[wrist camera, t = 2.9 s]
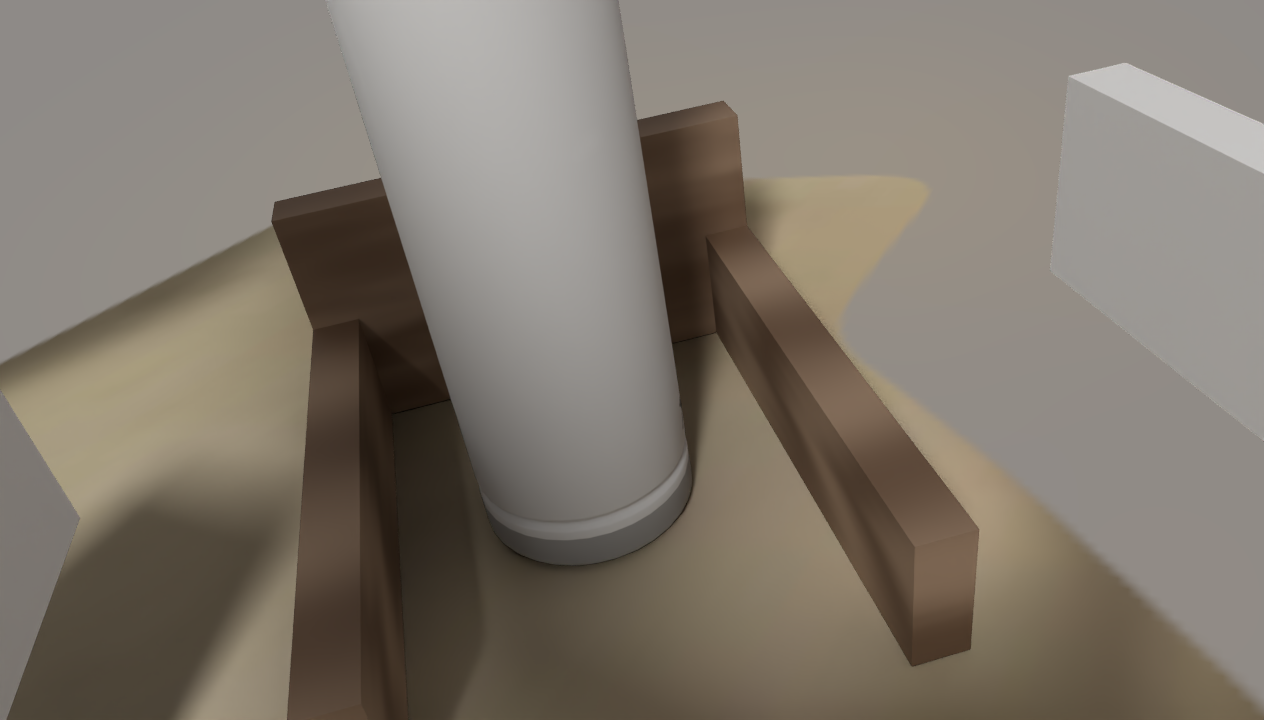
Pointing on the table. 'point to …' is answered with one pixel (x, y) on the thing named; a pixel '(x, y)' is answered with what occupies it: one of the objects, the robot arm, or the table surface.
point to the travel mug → (531, 258)
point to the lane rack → (696, 305)
